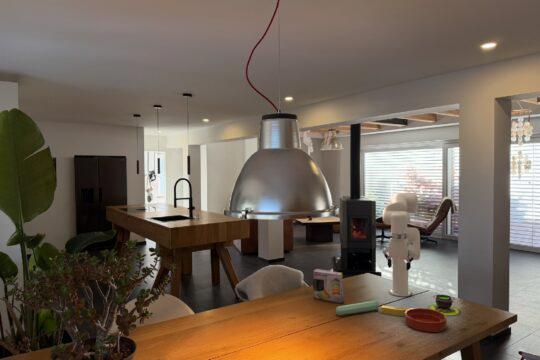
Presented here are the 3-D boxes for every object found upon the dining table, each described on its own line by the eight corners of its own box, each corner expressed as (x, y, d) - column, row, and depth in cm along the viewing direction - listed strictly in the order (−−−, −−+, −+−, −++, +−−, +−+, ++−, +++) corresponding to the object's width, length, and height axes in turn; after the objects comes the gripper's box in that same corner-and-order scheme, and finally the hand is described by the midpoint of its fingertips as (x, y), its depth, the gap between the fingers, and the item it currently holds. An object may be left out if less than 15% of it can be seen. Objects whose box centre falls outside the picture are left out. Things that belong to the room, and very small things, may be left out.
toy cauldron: (464, 312, 206) (464, 292, 206) (446, 317, 200) (446, 296, 199) (441, 303, 220) (441, 285, 219) (423, 308, 213) (423, 289, 213)
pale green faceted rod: (337, 305, 202) (377, 299, 210) (333, 306, 207) (372, 300, 215) (340, 317, 200) (380, 310, 208) (335, 317, 205) (374, 310, 213)
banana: (381, 310, 210) (381, 305, 210) (412, 313, 205) (412, 308, 205) (381, 314, 205) (381, 308, 205) (412, 317, 200) (412, 311, 200)
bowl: (404, 315, 203) (404, 306, 203) (444, 319, 197) (444, 310, 196) (405, 330, 185) (405, 320, 184) (448, 335, 178) (448, 324, 178)
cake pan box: (312, 297, 233) (312, 269, 233) (316, 295, 237) (316, 268, 237) (340, 304, 221) (340, 274, 221) (344, 301, 225) (343, 272, 225)
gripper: (417, 237, 196) (417, 269, 196) (385, 233, 206) (385, 264, 207) (413, 239, 190) (413, 272, 190) (380, 235, 201) (380, 267, 201)
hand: (398, 268), depth 199 cm, fingers open, 9 cm apart
